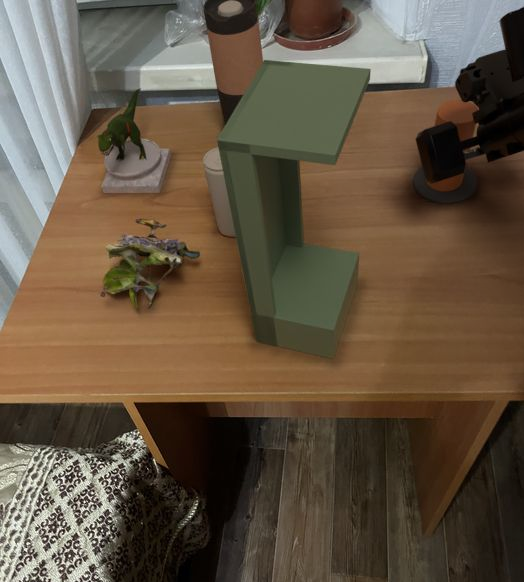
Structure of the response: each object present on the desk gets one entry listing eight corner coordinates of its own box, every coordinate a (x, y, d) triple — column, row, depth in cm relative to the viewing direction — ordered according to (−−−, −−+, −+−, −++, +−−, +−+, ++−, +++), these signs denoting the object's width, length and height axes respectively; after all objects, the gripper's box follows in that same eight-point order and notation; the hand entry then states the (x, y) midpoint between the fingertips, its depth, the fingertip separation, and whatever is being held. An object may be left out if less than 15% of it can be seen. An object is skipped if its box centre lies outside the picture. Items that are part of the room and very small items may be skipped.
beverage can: (255, 218, 81) (244, 148, 71) (244, 241, 79) (231, 172, 69) (224, 213, 83) (210, 143, 73) (213, 236, 80) (196, 167, 70)
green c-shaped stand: (357, 284, 72) (370, 68, 48) (333, 359, 66) (335, 154, 42) (285, 271, 75) (264, 59, 51) (256, 341, 69) (216, 139, 45)
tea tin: (470, 180, 81) (487, 111, 71) (443, 196, 79) (458, 128, 70) (443, 163, 83) (457, 94, 74) (417, 178, 82) (428, 111, 73)
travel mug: (257, 111, 96) (242, -16, 80) (277, 133, 92) (266, 4, 75) (217, 126, 95) (194, 0, 78) (236, 150, 91) (215, 22, 74)
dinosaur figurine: (97, 209, 86) (68, 144, 76) (128, 130, 97) (105, 64, 87) (154, 209, 85) (132, 143, 75) (179, 128, 95) (162, 62, 86)
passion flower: (174, 290, 82) (209, 232, 75) (159, 341, 75) (197, 283, 67) (102, 256, 79) (131, 191, 71) (78, 306, 71) (108, 240, 63)
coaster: (472, 161, 83) (472, 159, 83) (480, 203, 78) (481, 200, 78) (410, 164, 84) (411, 162, 84) (415, 205, 79) (415, 202, 79)
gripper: (593, 17, 59) (506, 69, 75) (436, 66, 57) (379, 109, 72) (613, 122, 61) (524, 152, 77) (462, 173, 59) (402, 193, 75)
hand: (458, 150), depth 75 cm, fingers open, 9 cm apart
